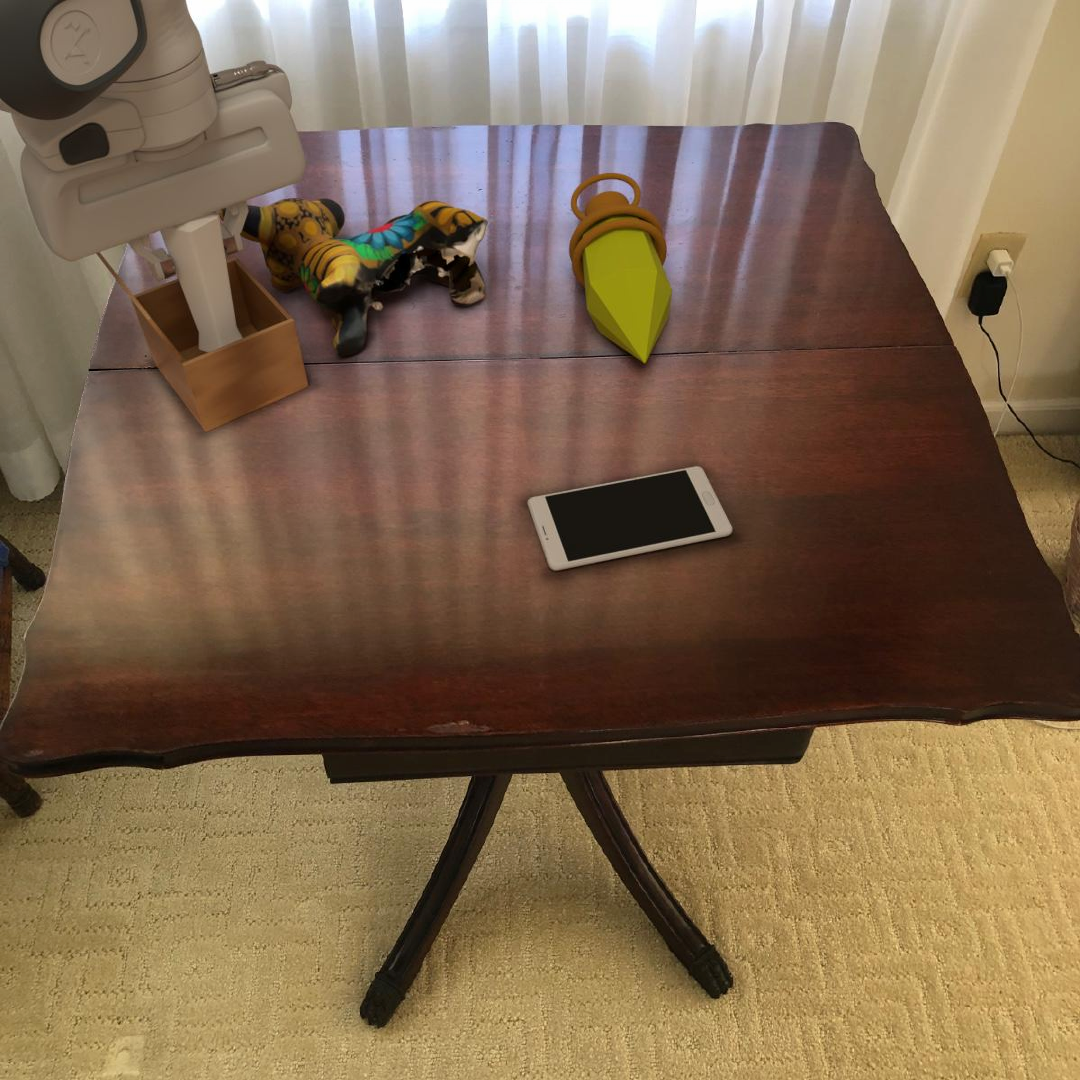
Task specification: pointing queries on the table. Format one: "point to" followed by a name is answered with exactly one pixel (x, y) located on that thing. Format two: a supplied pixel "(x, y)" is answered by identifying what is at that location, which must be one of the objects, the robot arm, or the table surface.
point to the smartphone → (627, 517)
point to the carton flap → (139, 306)
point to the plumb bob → (621, 267)
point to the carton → (225, 350)
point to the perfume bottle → (204, 278)
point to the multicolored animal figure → (365, 257)
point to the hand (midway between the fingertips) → (198, 262)
